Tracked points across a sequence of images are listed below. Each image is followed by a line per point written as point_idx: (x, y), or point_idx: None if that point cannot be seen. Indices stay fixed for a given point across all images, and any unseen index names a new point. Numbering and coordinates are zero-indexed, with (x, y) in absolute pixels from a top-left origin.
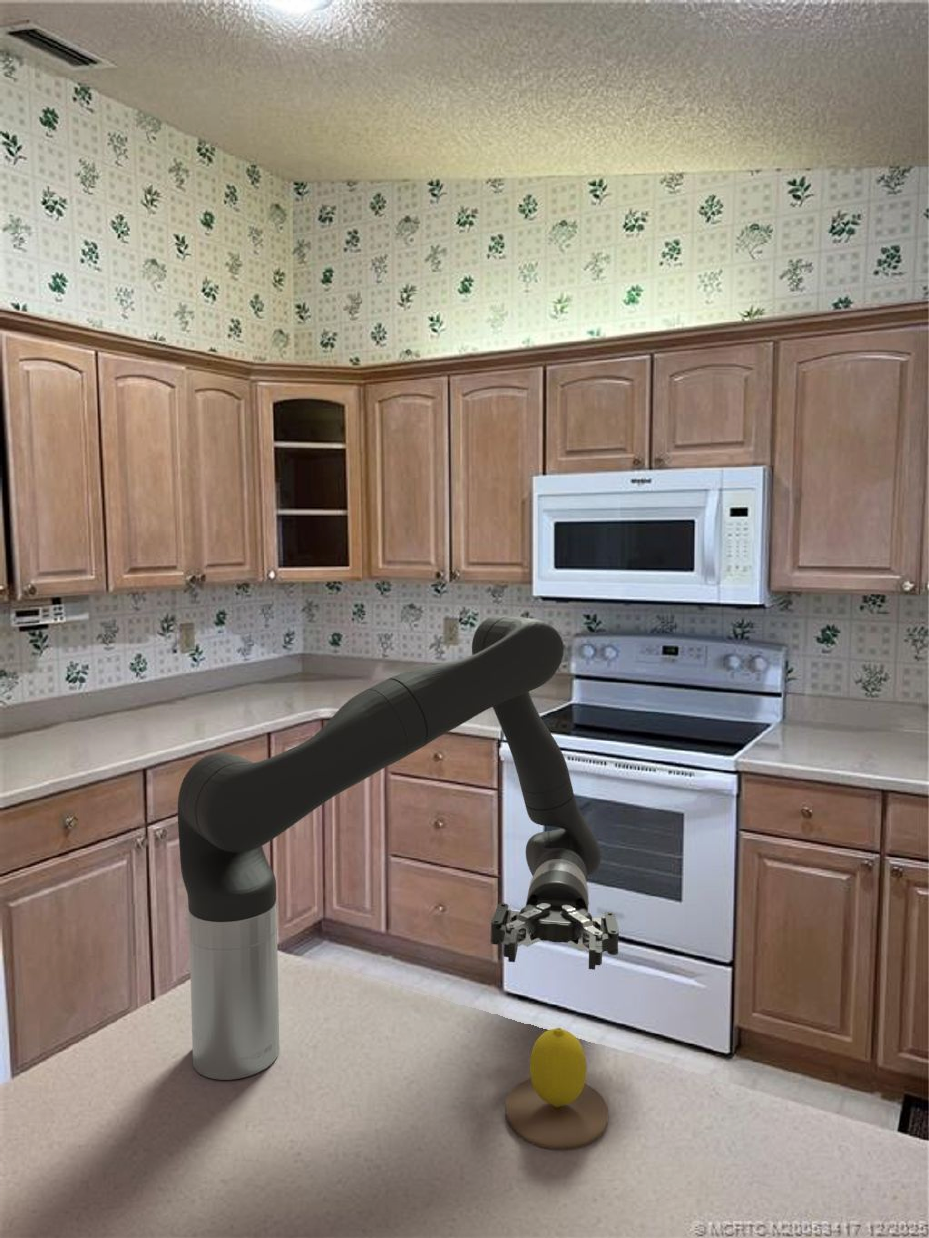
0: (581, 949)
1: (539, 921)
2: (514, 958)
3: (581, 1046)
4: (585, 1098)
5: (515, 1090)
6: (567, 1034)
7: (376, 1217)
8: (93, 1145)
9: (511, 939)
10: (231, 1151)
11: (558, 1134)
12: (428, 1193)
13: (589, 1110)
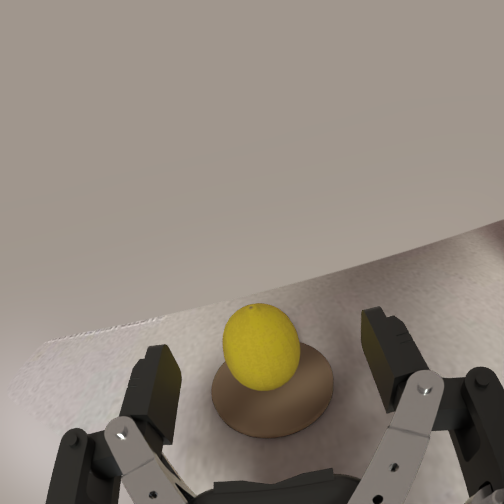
0: (192, 491)
1: (341, 477)
2: (361, 335)
3: (224, 335)
4: (237, 403)
5: (326, 390)
6: (239, 315)
7: (376, 265)
8: None
9: (381, 318)
10: (493, 265)
11: None
12: (355, 286)
13: (232, 385)
